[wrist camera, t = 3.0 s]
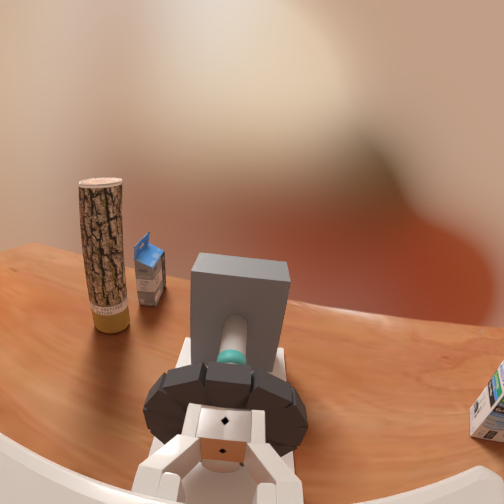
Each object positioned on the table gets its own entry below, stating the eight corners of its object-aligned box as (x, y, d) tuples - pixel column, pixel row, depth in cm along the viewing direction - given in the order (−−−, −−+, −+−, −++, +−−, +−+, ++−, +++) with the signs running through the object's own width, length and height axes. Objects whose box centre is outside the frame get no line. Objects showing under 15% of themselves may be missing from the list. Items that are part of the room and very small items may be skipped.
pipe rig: (139, 494, 20) (95, 412, 14) (185, 341, 46) (186, 250, 40) (295, 511, 20) (351, 441, 14) (282, 351, 46) (300, 263, 41)
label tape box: (156, 307, 54) (154, 248, 49) (137, 304, 54) (133, 246, 49) (166, 286, 62) (166, 232, 58) (149, 284, 62) (147, 231, 57)
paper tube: (136, 329, 47) (128, 181, 38) (101, 339, 42) (83, 186, 33) (122, 310, 51) (114, 176, 42) (90, 318, 47) (75, 180, 38)
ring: (155, 454, 24) (133, 366, 19) (159, 440, 26) (141, 349, 21) (287, 468, 24) (325, 387, 19) (286, 454, 26) (320, 369, 21)
